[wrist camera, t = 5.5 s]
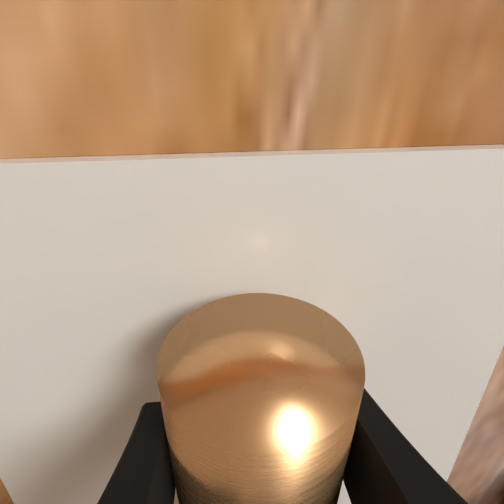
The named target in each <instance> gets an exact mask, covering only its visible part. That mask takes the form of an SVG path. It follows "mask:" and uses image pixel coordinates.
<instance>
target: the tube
mask: <svg viewBox="0 0 504 504" xmlns="http://www.w3.org/2000/svg"><path fill="white" fill-rule="evenodd" d="M156 376H157V384H158V390H159V396H160V401H161V407H162V413H163V418H164V424H165V430H166V435H167V441H168V447H169V452H170V458H171V464H172V470H173V475H174V481H175V487H176V492H177V498H178V504H337V503H338V499H339V494H340V490H341V486H342V481H343V477H344V473H345V468H346V464H347V460H348V455H349V451H350V447H351V443H352V438H353V434H354V430H355V425H356V421H357V417H358V412H359V408H360V404H361V399H362V395H363V391H364V385H365V365H364V359H363V356H362V353H361V351H360V348H359V346H358V344H357V343H356V341H355V339H354V338H353V336H352V335H351V334H350V332H349V331H348V330H347V329H346V328H345V327H344V326H343V325H342V324H341V323H340V322H339V321H338V320H337V319H336V318H334V317H333V316H332V315H330V314H329V313H327V312H326V311H324V310H322V309H320V308H319V307H317V306H315V305H313V304H310V303H308V302H305V301H303V300H299V299H296V298H293V297H289V296H284V295H278V294H269V293H247V294H238V295H232V296H228V297H224V298H220V299H217V300H214V301H212V302H209V303H207V304H205V305H203V306H200V307H199V308H197V309H195V310H194V311H192V312H190V313H189V314H188V315H186V316H185V317H184V318H182V319H181V320H180V321H179V322H178V323H177V324H176V325H175V326H174V327H173V329H172V330H171V331H170V332H169V333H168V335H167V337H166V338H165V340H164V342H163V344H162V346H161V349H160V351H159V355H158V359H157V366H156Z"/></svg>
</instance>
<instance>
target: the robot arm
mask: <svg viewBox="0 0 504 504" xmlns="http://www.w3.org/2000/svg"><path fill="white" fill-rule="evenodd" d="M343 481H344V484H345V487H346V490H347V493H348V495H349V498H350V501H351V504H468V503H467V502H466V501H465V500H464V499H463V498H462V497H461V496H460V495H459V494H458V493H457V492H456V491H455V490H454V489H453V488H452V487H451V486H450V485H449V484H448V483H447V482H446V481H445V480H444V479H443V478H442V477H441V476H440V475H439V474H438V473H437V472H436V471H435V469H434V468H433V467H432V466H431V465H430V464H429V463H428V462H427V461H426V460H425V459H424V458H423V456H422V455H421V454H420V453H419V452H418V451H417V450H416V449H415V448H414V446H413V445H412V444H411V443H410V442H409V441H408V440H407V439H406V438H405V436H404V435H403V434H402V433H401V432H400V431H399V429H398V428H397V427H396V426H395V425H394V424H393V422H392V421H391V420H390V419H389V418H388V416H387V415H386V414H385V413H384V412H383V410H382V409H381V408H380V407H379V405H378V404H377V403H376V402H375V401H374V399H373V398H372V397H371V396H370V394H369V393H368V392H367V391H366V389H365V388H364V391H363V395H362V399H361V404H360V408H359V412H358V417H357V421H356V425H355V430H354V434H353V438H352V443H351V447H350V451H349V455H348V460H347V464H346V468H345V473H344V477H343ZM174 498H175V481H174V475H173V470H172V464H171V458H170V452H169V447H168V441H167V435H166V430H165V424H164V418H163V413H162V407H161V401H159V402H148V403H145V404H144V405H143V406H142V408H141V411H140V414H139V416H138V419H137V421H136V424H135V426H134V429H133V431H132V434H131V436H130V438H129V440H128V443H127V445H126V447H125V449H124V451H123V454H122V456H121V458H120V460H119V462H118V464H117V466H116V468H115V470H114V472H113V474H112V476H111V478H110V480H109V482H108V484H107V486H106V488H105V490H104V492H103V494H102V496H101V497H100V499H99V501H98V503H97V504H174Z"/></svg>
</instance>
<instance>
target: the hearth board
mask: <svg viewBox="0 0 504 504" xmlns="http://www.w3.org/2000/svg"><path fill="white" fill-rule="evenodd" d="M247 293H269V294H278V295H284V296H289V297H293V298H296V299H299V300H303V301H305V302H308V303H310V304H313V305H315V306H317V307H319V308H320V309H322V310H324V311H326V312H327V313H329V314H330V315H332V316H333V317H334V318H336V319H337V320H338V321H339V322H340V323H341V324H342V325H343V326H344V327H345V328H346V329H347V330H348V331H349V332H350V334H351V335H352V336H353V338H354V339H355V341H356V343H357V344H358V346H359V348H360V351H361V353H362V356H363V359H364V365H365V385H364V388H365V389H366V391H367V392H368V393H369V394H370V396H371V397H372V398H373V399H374V401H375V402H376V403H377V404H378V405H379V407H380V408H381V409H382V410H383V412H384V413H385V414H386V415H387V416H388V418H389V419H390V420H391V421H392V422H393V424H394V425H395V426H396V427H397V428H398V429H399V431H400V432H401V433H402V434H403V435H404V436H405V438H406V439H407V440H408V441H409V442H410V443H411V444H412V445H413V446H414V448H415V449H416V450H417V451H418V452H419V453H420V454H421V455H422V456H423V458H424V459H425V460H426V461H427V462H428V463H429V464H430V465H431V466H432V467H433V468H434V469H435V471H436V472H437V473H438V474H439V475H440V476H441V477H442V478H443V479H444V480H445V481H446V482H447V480H448V477H449V475H450V472H451V470H452V468H453V465H454V463H455V460H456V458H457V456H458V453H459V451H460V448H461V446H462V444H463V441H464V439H465V436H466V434H467V432H468V429H469V427H470V425H471V422H472V420H473V417H474V415H475V413H476V410H477V408H478V405H479V403H480V401H481V398H482V396H483V393H484V391H485V389H486V386H487V384H488V381H489V379H490V377H491V374H492V372H493V369H494V367H495V365H496V362H497V360H498V357H499V355H500V353H501V350H502V348H503V346H504V145H472V146H437V147H403V148H368V149H334V150H300V151H265V152H231V153H197V154H162V155H128V156H93V157H59V158H25V159H0V478H1V480H2V482H3V484H4V486H5V488H6V489H7V491H8V493H9V495H10V497H11V499H12V501H13V502H14V504H97V503H98V501H99V499H100V497H101V496H102V494H103V492H104V490H105V488H106V486H107V484H108V482H109V480H110V478H111V476H112V474H113V472H114V470H115V468H116V466H117V464H118V462H119V460H120V458H121V456H122V454H123V451H124V449H125V447H126V445H127V443H128V440H129V438H130V436H131V434H132V431H133V429H134V426H135V424H136V421H137V419H138V416H139V414H140V411H141V408H142V406H143V405H144V404H145V403H148V402H159V401H160V396H159V390H158V384H157V376H156V366H157V359H158V355H159V351H160V349H161V346H162V344H163V342H164V340H165V338H166V337H167V335H168V333H169V332H170V331H171V330H172V329H173V327H174V326H175V325H176V324H177V323H178V322H179V321H180V320H181V319H182V318H184V317H185V316H186V315H188V314H189V313H190V312H192V311H194V310H195V309H197V308H199V307H200V306H203V305H205V304H207V303H209V302H212V301H214V300H217V299H220V298H224V297H228V296H232V295H238V294H247ZM174 504H178V498H177V492H176V487H175V498H174ZM337 504H351V501H350V498H349V495H348V493H347V490H346V487H345V484H344V481H342V486H341V490H340V494H339V499H338V503H337Z"/></svg>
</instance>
